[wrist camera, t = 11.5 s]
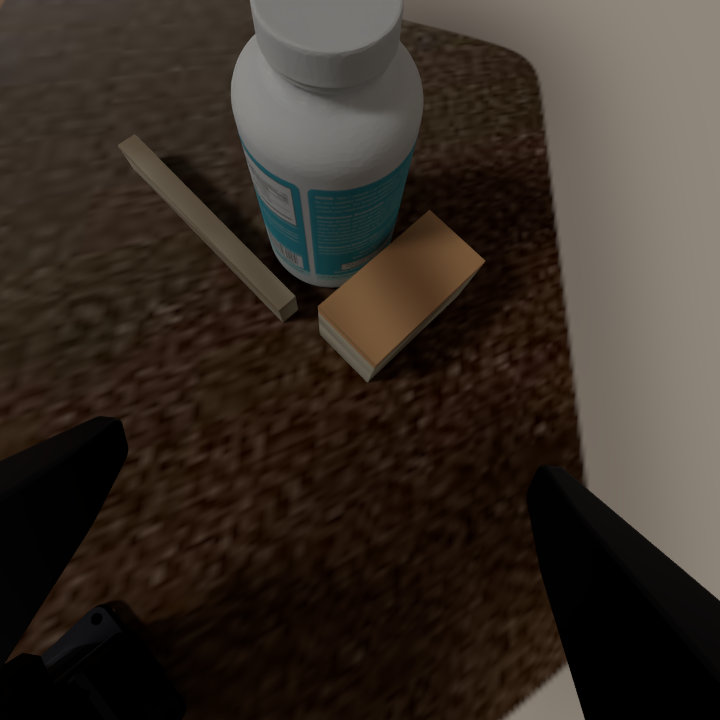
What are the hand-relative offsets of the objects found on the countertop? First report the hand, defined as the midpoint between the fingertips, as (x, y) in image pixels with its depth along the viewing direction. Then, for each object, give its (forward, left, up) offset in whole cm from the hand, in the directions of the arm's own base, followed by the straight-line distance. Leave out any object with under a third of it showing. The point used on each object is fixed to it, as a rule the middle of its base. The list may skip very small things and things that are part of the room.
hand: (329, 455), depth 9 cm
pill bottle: (+9, +10, -14) cm, 19 cm away
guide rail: (+4, +15, -14) cm, 20 cm away
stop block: (+8, +4, -14) cm, 16 cm away
